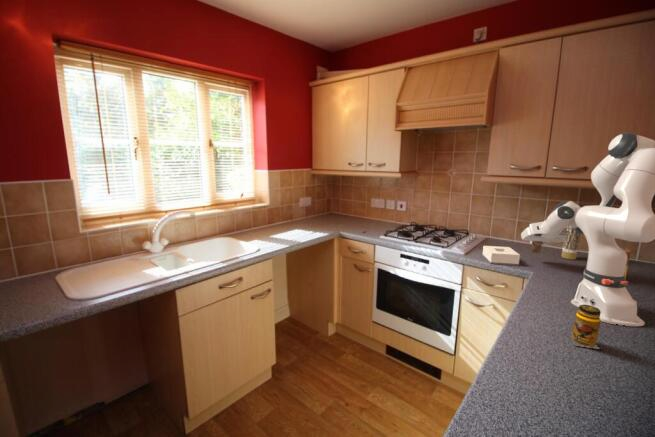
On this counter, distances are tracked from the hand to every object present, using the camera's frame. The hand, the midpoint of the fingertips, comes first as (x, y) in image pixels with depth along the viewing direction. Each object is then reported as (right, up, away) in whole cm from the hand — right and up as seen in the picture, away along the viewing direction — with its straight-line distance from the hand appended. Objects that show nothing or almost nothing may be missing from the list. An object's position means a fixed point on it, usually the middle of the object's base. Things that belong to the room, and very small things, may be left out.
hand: (536, 243), depth 173 cm
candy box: (+22, -16, -20) cm, 34 cm away
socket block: (-18, -10, +4) cm, 21 cm away
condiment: (-33, -26, -71) cm, 83 cm away
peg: (0, -5, 0) cm, 5 cm away
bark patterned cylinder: (+24, -9, +9) cm, 27 cm away
